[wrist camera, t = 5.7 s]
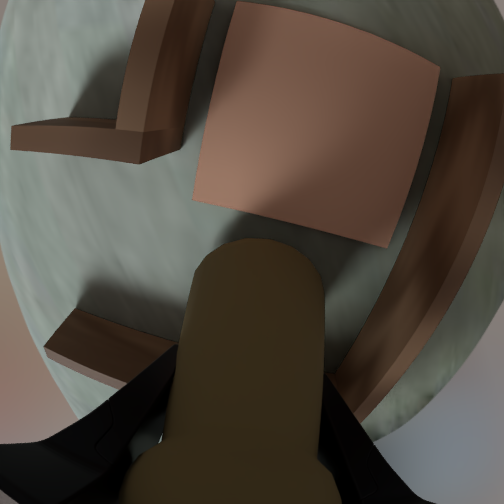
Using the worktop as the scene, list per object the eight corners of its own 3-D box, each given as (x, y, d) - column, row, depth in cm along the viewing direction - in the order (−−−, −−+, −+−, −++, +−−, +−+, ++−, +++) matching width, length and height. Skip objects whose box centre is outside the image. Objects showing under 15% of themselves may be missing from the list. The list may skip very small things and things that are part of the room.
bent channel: (342, 384, 17) (350, 433, 13) (77, 319, 17) (47, 357, 13) (467, 87, 9) (522, 87, 5) (92, 9, 8) (42, -9, 5)
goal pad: (384, 245, 13) (386, 248, 12) (194, 197, 12) (192, 200, 12) (436, 68, 9) (440, 67, 8) (238, 4, 8) (236, 1, 8)
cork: (188, 335, 14) (119, 543, 4) (195, 225, 11) (30, 513, 2) (304, 355, 14) (309, 569, 4) (341, 252, 11) (429, 554, 2)
